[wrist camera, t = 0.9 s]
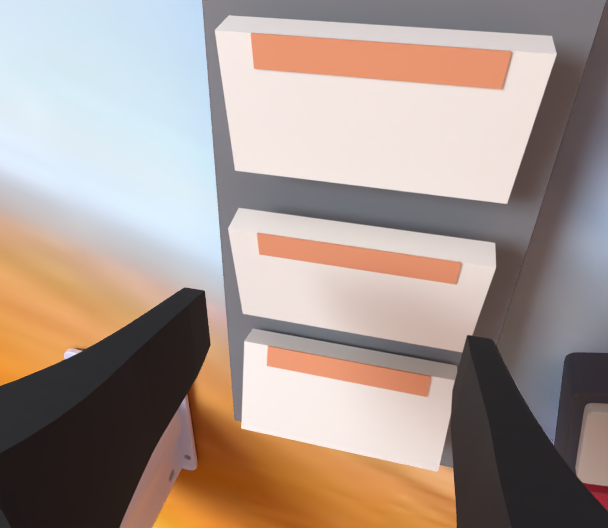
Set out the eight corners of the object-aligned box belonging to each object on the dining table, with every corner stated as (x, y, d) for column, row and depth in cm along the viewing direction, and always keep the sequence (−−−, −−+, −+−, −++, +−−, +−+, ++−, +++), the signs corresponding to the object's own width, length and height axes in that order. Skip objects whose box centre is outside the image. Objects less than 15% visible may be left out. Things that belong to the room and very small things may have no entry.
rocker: (466, 329, 21) (465, 354, 20) (251, 293, 22) (242, 314, 21) (495, 242, 17) (496, 268, 16) (238, 207, 19) (227, 230, 18)
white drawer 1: (437, 453, 23) (438, 472, 22) (249, 413, 25) (240, 429, 24) (456, 365, 22) (458, 382, 21) (252, 328, 23) (243, 342, 22)
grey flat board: (457, 429, 28) (457, 468, 26) (249, 387, 30) (234, 420, 28) (718, -456, 11) (778, -543, 9) (209, -406, 13) (166, -467, 11)
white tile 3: (505, 182, 17) (506, 205, 16) (245, 152, 19) (234, 171, 18) (552, 36, 14) (557, 55, 13) (228, 15, 15) (213, 31, 14)
